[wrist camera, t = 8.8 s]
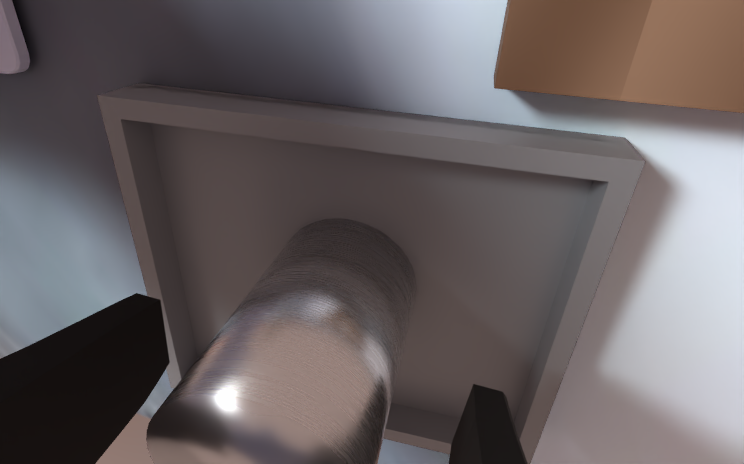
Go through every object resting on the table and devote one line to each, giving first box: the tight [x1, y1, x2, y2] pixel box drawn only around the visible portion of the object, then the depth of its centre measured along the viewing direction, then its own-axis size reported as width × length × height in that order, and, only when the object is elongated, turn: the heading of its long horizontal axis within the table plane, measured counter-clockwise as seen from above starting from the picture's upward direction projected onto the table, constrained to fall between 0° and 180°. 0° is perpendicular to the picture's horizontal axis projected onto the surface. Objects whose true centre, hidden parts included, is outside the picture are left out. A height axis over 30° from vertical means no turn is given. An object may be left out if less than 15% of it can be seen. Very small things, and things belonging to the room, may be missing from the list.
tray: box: [97, 83, 645, 464], centre depth 13 cm, size 12×10×2 cm
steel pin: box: [146, 218, 416, 464], centre depth 10 cm, size 4×4×6 cm
